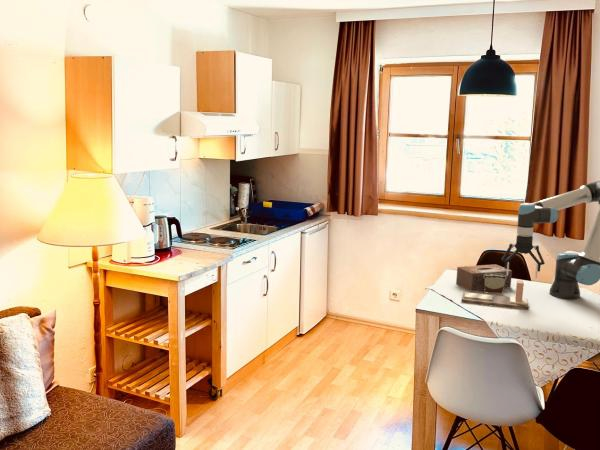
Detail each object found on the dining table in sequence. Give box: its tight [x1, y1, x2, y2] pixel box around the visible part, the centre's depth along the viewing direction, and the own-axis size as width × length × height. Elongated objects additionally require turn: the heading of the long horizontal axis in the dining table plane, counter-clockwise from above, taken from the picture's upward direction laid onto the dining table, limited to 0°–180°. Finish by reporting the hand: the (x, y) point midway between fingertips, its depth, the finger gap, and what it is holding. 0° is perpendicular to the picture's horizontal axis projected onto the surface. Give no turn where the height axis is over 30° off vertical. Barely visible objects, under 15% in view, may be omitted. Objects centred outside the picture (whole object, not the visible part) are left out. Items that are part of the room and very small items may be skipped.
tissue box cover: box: [455, 264, 513, 292], centre depth 337 cm, size 26×14×10 cm, turn 109°
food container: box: [483, 272, 507, 294], centre depth 326 cm, size 12×6×10 cm, turn 84°
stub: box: [509, 279, 528, 305], centre depth 303 cm, size 8×8×10 cm
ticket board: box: [461, 291, 530, 311], centre depth 307 cm, size 32×14×2 cm, turn 72°
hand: (521, 276), depth 302 cm, fingers open, 13 cm apart
